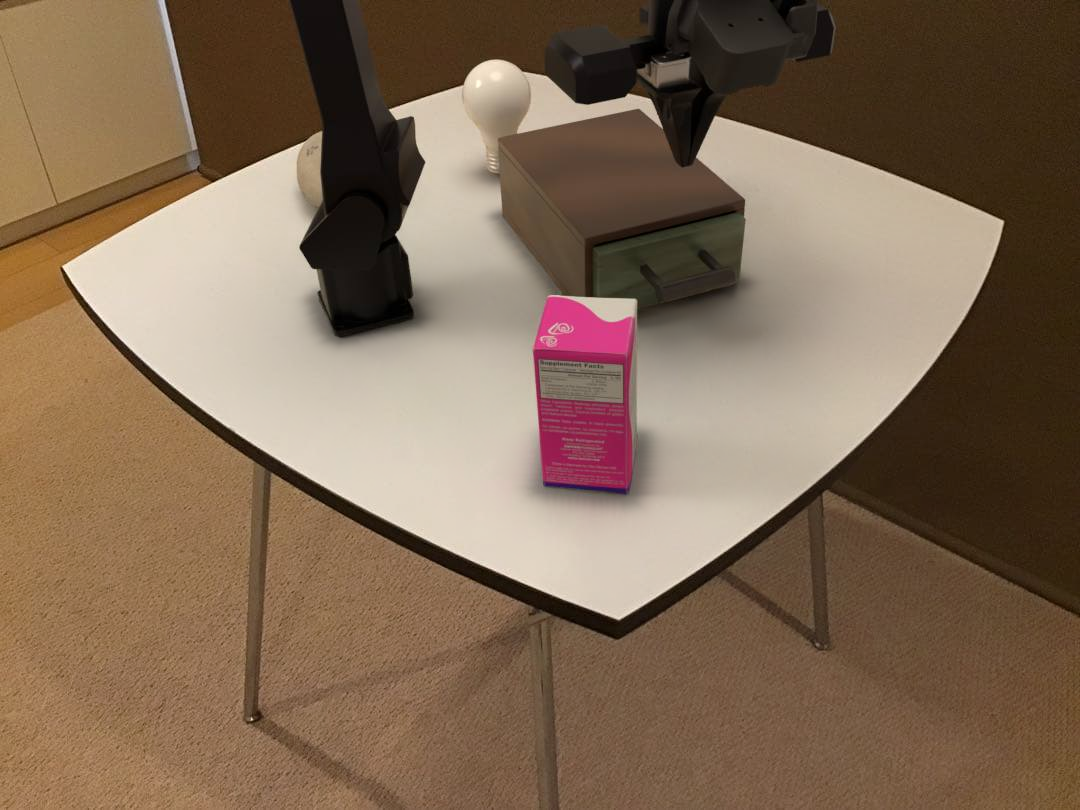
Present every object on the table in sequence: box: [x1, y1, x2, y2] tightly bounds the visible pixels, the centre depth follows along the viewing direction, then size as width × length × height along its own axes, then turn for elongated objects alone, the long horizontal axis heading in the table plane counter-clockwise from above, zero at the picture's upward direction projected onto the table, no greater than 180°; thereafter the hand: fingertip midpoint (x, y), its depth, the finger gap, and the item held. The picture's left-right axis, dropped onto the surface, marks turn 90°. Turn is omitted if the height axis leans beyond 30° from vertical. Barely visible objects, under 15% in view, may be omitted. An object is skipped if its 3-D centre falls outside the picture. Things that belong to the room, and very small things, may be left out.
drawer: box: [593, 212, 747, 310], centre depth 84 cm, size 22×12×6 cm, turn 22°
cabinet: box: [498, 108, 747, 297], centre depth 87 cm, size 19×14×8 cm
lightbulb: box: [461, 59, 532, 176], centre depth 97 cm, size 6×6×11 cm
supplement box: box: [532, 294, 638, 495], centre depth 65 cm, size 6×6×12 cm
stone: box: [296, 130, 323, 208], centre depth 97 cm, size 6×6×12 cm
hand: (683, 164), depth 73 cm, fingers closed
